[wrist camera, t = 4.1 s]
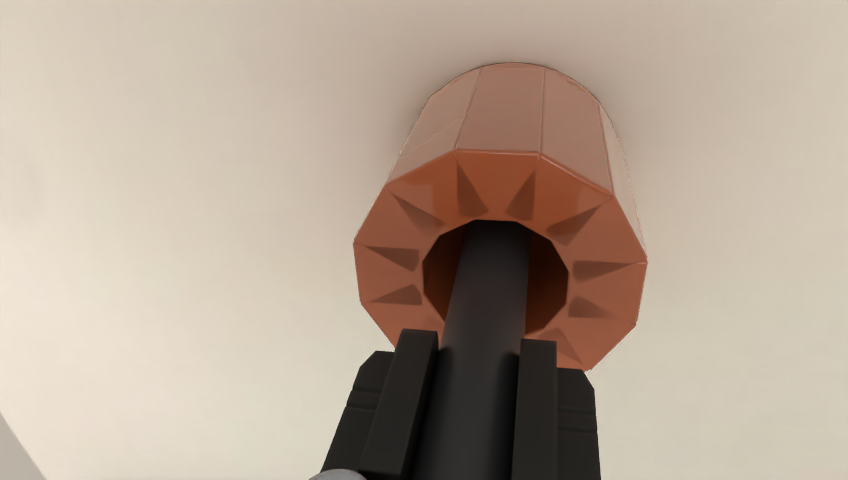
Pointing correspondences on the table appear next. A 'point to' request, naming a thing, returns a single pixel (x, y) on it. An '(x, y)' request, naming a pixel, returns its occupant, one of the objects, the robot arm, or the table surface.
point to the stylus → (478, 360)
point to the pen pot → (510, 210)
